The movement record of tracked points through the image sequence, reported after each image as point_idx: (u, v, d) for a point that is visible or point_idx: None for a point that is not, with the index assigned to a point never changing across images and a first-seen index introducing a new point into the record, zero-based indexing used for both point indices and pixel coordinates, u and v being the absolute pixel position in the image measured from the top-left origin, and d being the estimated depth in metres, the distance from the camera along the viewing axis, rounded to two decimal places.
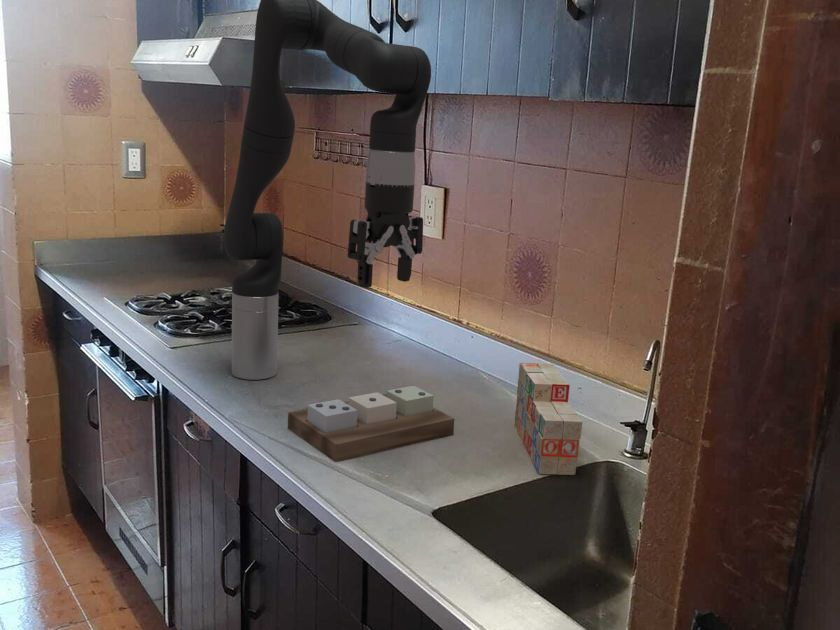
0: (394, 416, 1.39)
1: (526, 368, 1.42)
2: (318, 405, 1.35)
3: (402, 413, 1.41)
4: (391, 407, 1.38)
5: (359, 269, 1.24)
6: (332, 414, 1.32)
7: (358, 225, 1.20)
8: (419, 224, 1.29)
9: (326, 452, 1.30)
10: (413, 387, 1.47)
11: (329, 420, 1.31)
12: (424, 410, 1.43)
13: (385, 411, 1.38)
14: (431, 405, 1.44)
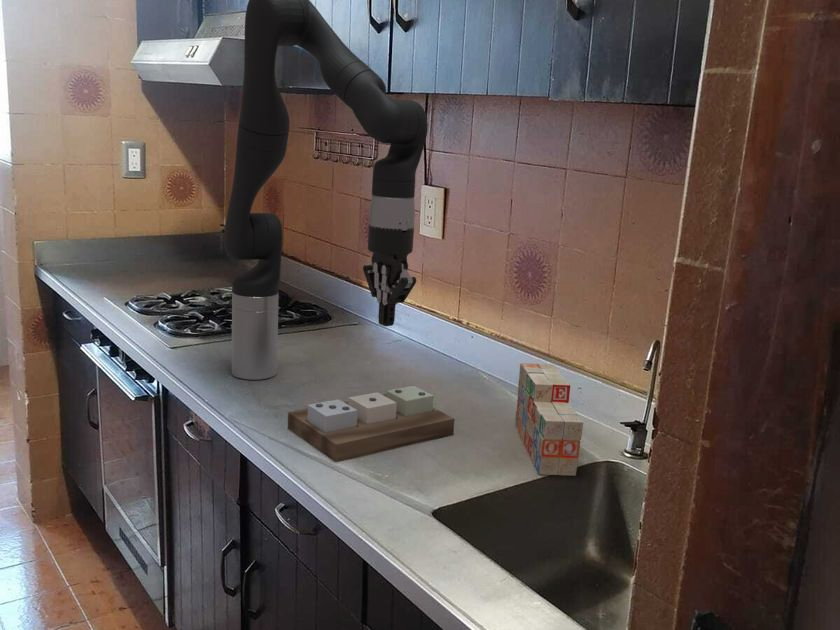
0: (394, 416, 1.39)
1: (527, 368, 1.41)
2: (318, 405, 1.35)
3: (402, 413, 1.41)
4: (391, 407, 1.38)
5: (389, 311, 1.36)
6: (332, 414, 1.32)
7: (412, 283, 1.31)
8: None
9: (326, 452, 1.30)
10: (413, 387, 1.47)
11: (329, 420, 1.31)
12: (424, 410, 1.43)
13: (385, 411, 1.38)
14: (431, 405, 1.44)
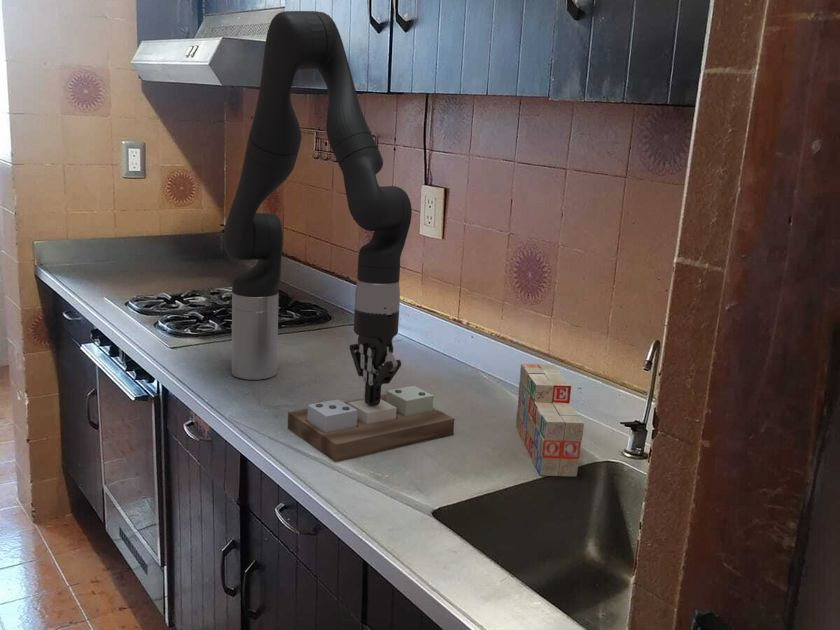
0: None
1: (527, 369, 1.41)
2: (318, 405, 1.35)
3: (402, 413, 1.41)
4: (391, 412, 1.39)
5: (375, 391, 1.38)
6: (332, 414, 1.32)
7: (397, 366, 1.33)
8: None
9: (326, 452, 1.30)
10: (413, 387, 1.47)
11: (329, 420, 1.31)
12: (424, 410, 1.43)
13: (385, 416, 1.38)
14: (431, 405, 1.44)
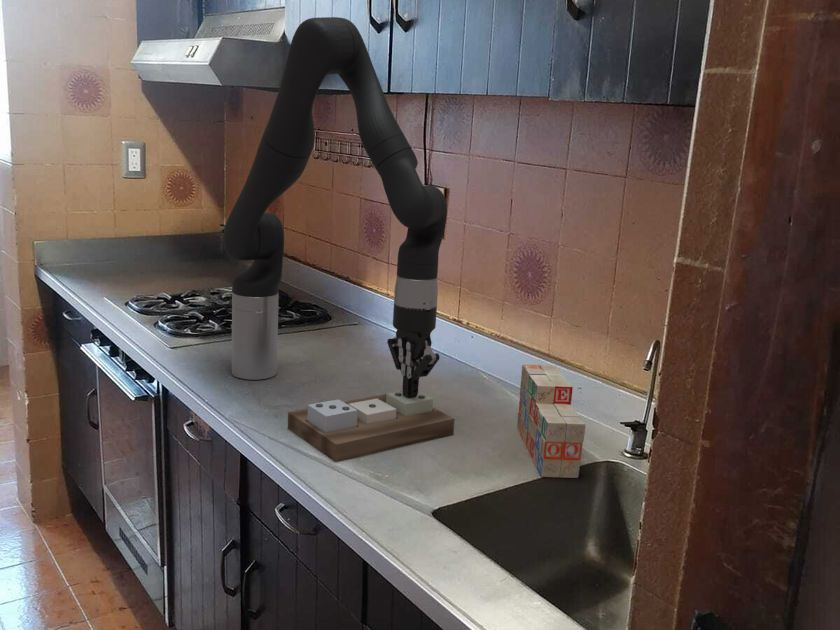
0: None
1: (529, 370, 1.41)
2: (318, 405, 1.35)
3: None
4: (391, 413, 1.39)
5: (413, 384, 1.42)
6: (332, 414, 1.32)
7: (435, 360, 1.38)
8: None
9: (326, 452, 1.30)
10: None
11: (329, 420, 1.31)
12: None
13: (385, 417, 1.38)
14: (431, 408, 1.44)
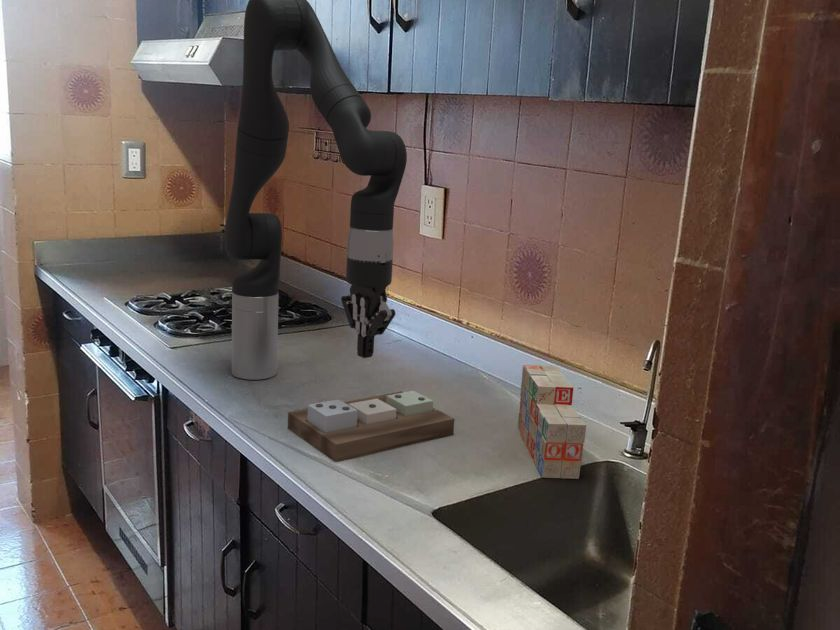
0: None
1: (529, 370, 1.40)
2: (318, 405, 1.35)
3: None
4: (391, 413, 1.39)
5: (368, 343, 1.35)
6: (332, 414, 1.32)
7: (391, 316, 1.30)
8: None
9: (326, 452, 1.30)
10: (413, 392, 1.48)
11: (329, 420, 1.31)
12: None
13: (385, 417, 1.38)
14: (431, 410, 1.44)
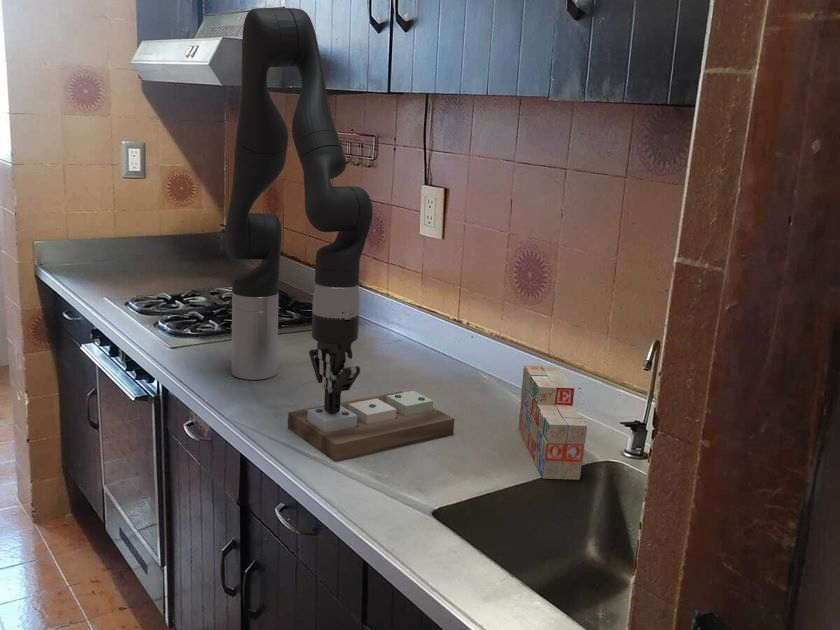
0: None
1: (530, 371, 1.40)
2: (318, 410, 1.35)
3: None
4: (391, 413, 1.39)
5: (334, 398, 1.33)
6: (332, 419, 1.32)
7: (356, 373, 1.29)
8: None
9: (326, 452, 1.30)
10: (413, 392, 1.48)
11: (329, 426, 1.31)
12: None
13: (385, 417, 1.38)
14: (431, 410, 1.44)
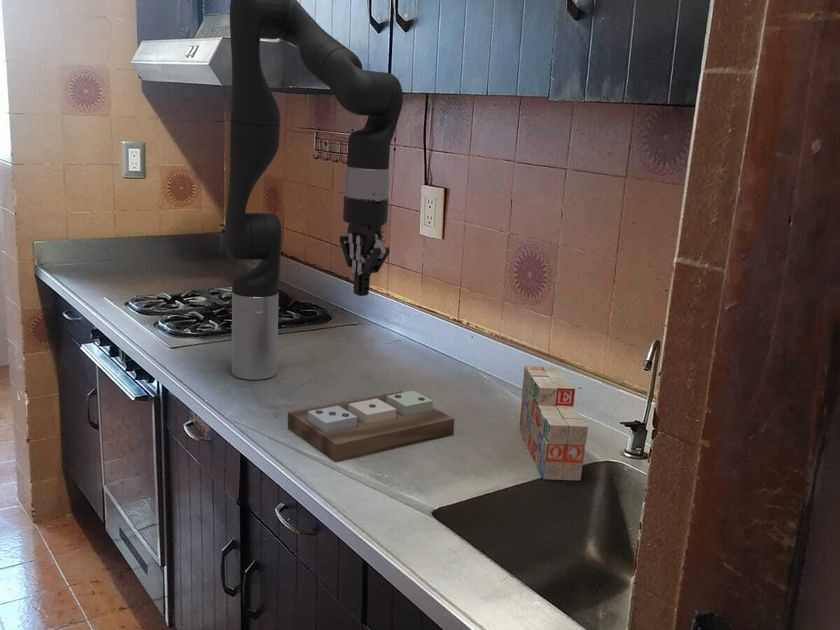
0: None
1: (531, 372, 1.40)
2: (318, 412, 1.35)
3: None
4: (391, 413, 1.39)
5: (364, 281, 1.38)
6: (332, 421, 1.32)
7: (385, 253, 1.34)
8: None
9: (326, 452, 1.30)
10: (413, 392, 1.48)
11: (329, 427, 1.32)
12: None
13: (385, 417, 1.38)
14: (431, 410, 1.44)
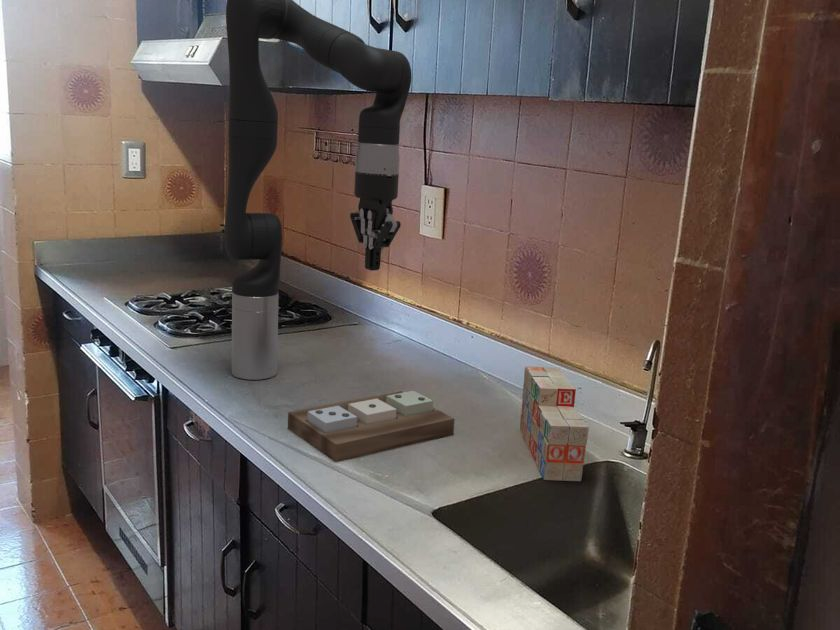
0: None
1: (532, 372, 1.39)
2: (318, 412, 1.35)
3: None
4: (391, 413, 1.39)
5: (375, 255, 1.41)
6: (332, 421, 1.32)
7: (396, 227, 1.37)
8: None
9: (326, 452, 1.30)
10: (413, 392, 1.48)
11: (329, 427, 1.32)
12: None
13: (385, 417, 1.38)
14: (431, 410, 1.44)
